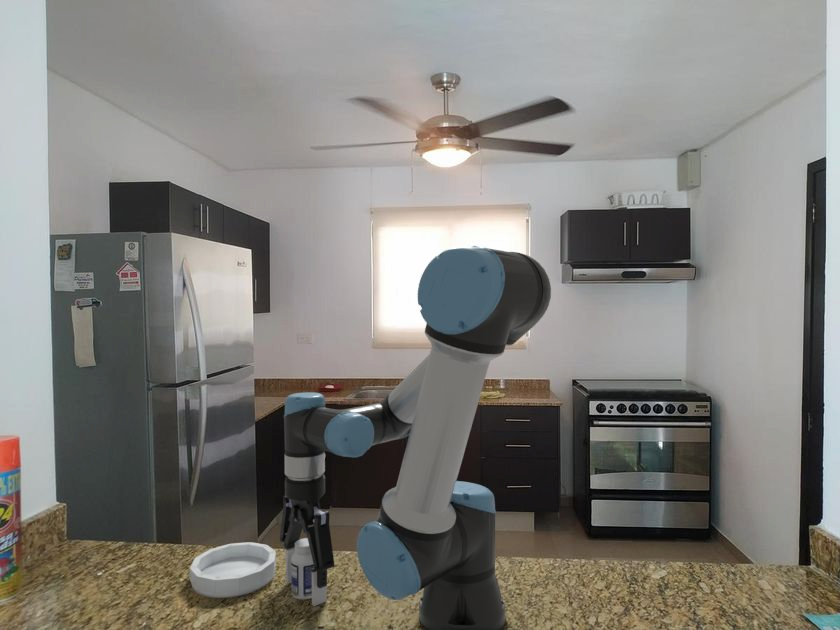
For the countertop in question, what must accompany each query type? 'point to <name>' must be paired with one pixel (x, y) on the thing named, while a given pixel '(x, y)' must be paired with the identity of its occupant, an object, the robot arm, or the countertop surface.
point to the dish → (233, 570)
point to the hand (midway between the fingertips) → (305, 591)
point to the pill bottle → (301, 570)
